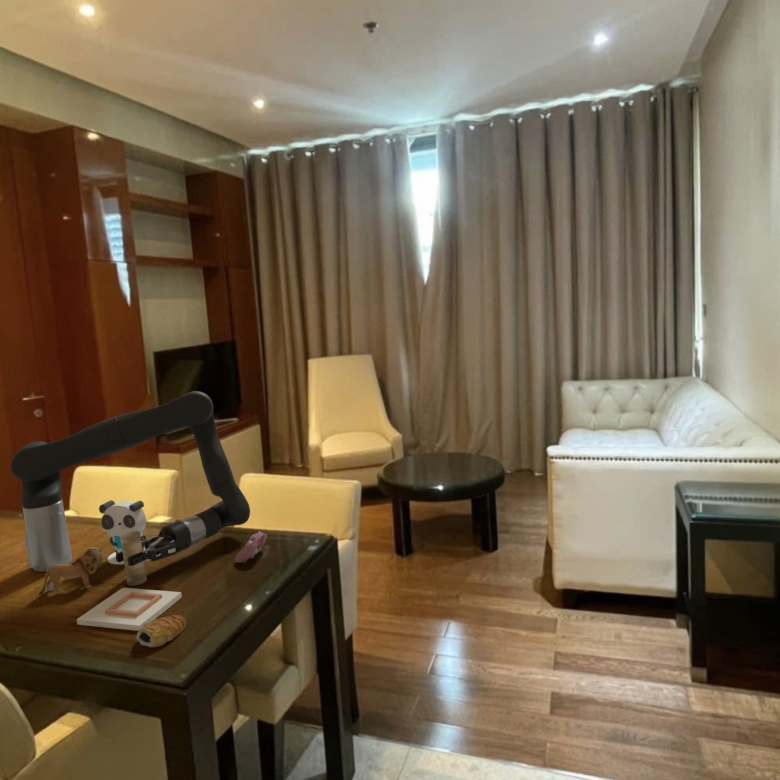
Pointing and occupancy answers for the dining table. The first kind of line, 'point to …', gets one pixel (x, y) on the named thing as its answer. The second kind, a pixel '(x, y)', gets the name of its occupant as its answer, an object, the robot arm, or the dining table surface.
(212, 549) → the dining table surface
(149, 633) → the pastry
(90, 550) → the lion figurine
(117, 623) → the board
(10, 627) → the dining table surface
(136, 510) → the panda figurine
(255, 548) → the video game controller
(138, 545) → the maple pin
